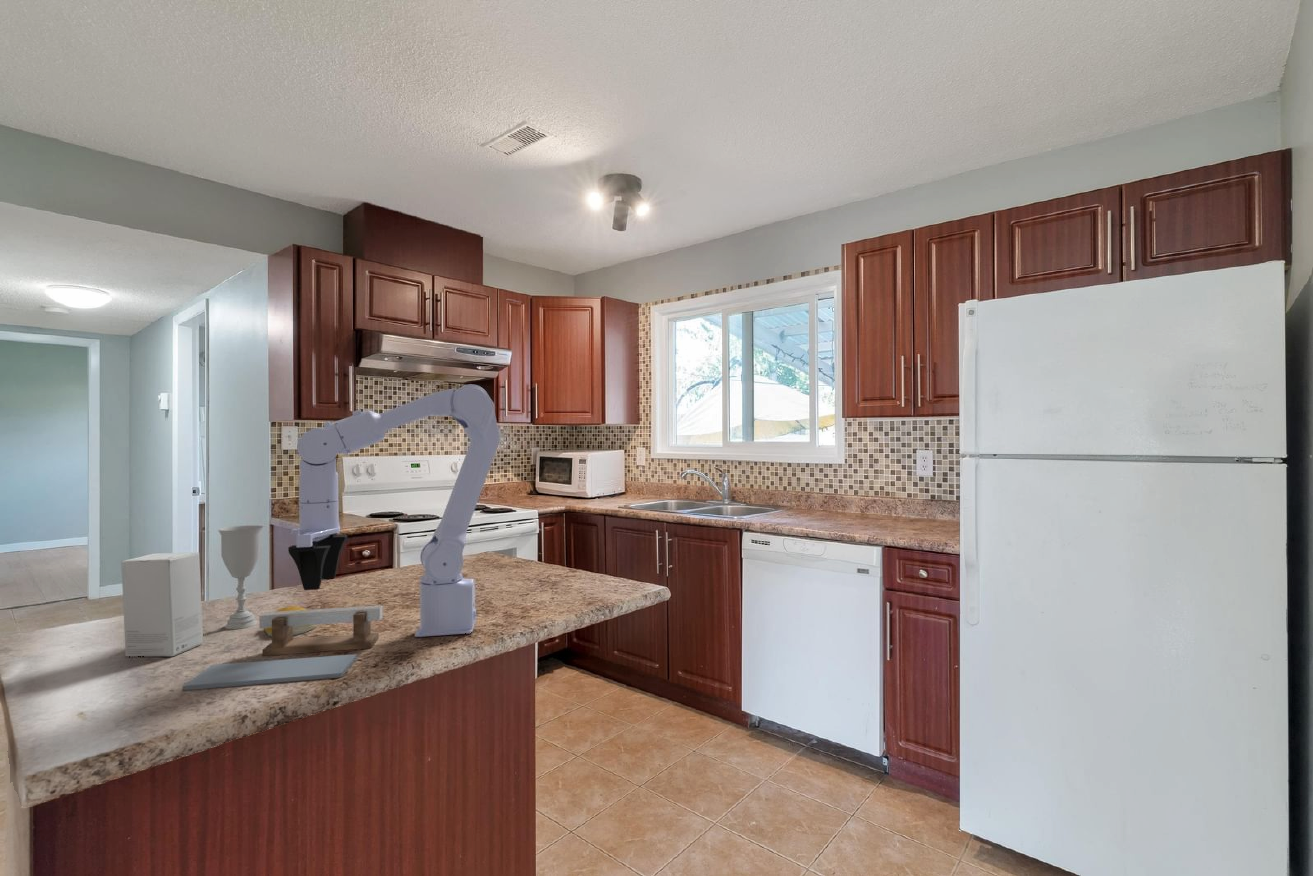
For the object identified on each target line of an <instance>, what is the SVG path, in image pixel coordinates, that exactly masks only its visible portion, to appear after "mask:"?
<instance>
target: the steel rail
mask: <svg viewBox="0 0 1313 876" xmlns="http://www.w3.org/2000/svg"><path fill="white" fill-rule="evenodd" d="M383 608H384V606H383V605H380V604H379V605H368V606H367V605H366V606H363V605H362V606H349V607H348V606H347V607H334V608H333V607H331V608H330V607H329V608H316V609H315V608H314V609H307V610H296V611H279V612H275V611H265V612H262V613H261V614H260V615H258V616H259V618H258V619H259V620H258V621H259V629H264V628H272V619H274V618H285V627H287V626H302V625H317V626H318V625H330V624H346V623H353V615H354V614H355V613H365V621H370V622H375V621H381V619H383V617H384V615H383V613H384V611H383Z"/></svg>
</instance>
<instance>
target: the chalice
mask: <svg viewBox="0 0 1313 876" xmlns="http://www.w3.org/2000/svg"><path fill="white" fill-rule="evenodd" d="M263 528H264V525H238V526H237V525H235V526H226V527H221V528H218V529H217V531H218V532H219V534H220V536H221V538H220V541H221V543H220V547H221V549H220V551H221V553H220V556H221V558H222V560H223V563H224V566H225V567H226V569H227V571H228V572H229V574H230V577H232V578H234V579H237V588H236V589H235V590H236V591H237V594H238V595H237V597H236V599H235V601H236V602H237V604H238V606H237V609H236V610H235V612H233V613H232V612H231V614H230V616H228V617H229V618H228V620H227V621H226V624H225V625H224V626H225V627H224V628H225V629H226V630H241V629H245V628H249V627H250V628H251V627H253V626H255V625H257V624H258V621H257V620H256V617H255V615H254V612H252V611H251V610H247V608H246V607H245V602H246V600H247V597H246V596H245V591H246V589H247V587H246V584H245V578H248V577H249V576H251V574H252V572H253V570H254V568H255V566H256V564H257V562H258V560H259V557H260V554H261V531H262V530H263Z"/></svg>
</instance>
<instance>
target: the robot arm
mask: <svg viewBox="0 0 1313 876" xmlns="http://www.w3.org/2000/svg"><path fill="white" fill-rule="evenodd" d="M495 409H496V407H495V403H494V401H493V400H492V399H491V397H490V395H489V394H488V392H487V391H486V390H485V389H484V388H483V387H481V385H477V384H471V383H470V384H465V385H462V386H461V387H459V388H456V387H454V388H450V389H445V390H440V391H435V392H432V393H430V394H427V395H425V396H422V397H419V398H417V399H414V400H412V401H410V402H407V403H405V404H402V405H400V406H397V407H394V408H392V409H390V410H388V411H387V410H386V411H385V412H381V413H377V412H375V411H373V410H369V409H367V410H365V411H362V410H361V409H357V410H353V411H352V414H353V415H350V416H349V417H345V418H342V419H339V420H336V421H335V422H330V421H325V422H323V424H322V425H323V426H324V428H321V427H313V428H311V429H310V430H308V431H306V432H304V433H303V434H302V435H301V436H300V437H299V438H298V440H297V445H296V446H297V447H296V449H297V452H298V455H299V457H300V458H301V460H299V461H300V462H299V465H298V468H299V471H300V473H299V475H298V506H299V507H298V509H299V510H298V511H299V513H298V516H299V520H298V521H299V528H294V529H291V535H296V537H295V539H296V542H295V543H296V544H295V545H290V546H289V547H288V554H289V555H290V556H291V558H292V560H293V561H294V563H295V565H296V567H297V570H298V573H299V577H300V581H301V585H302V588H303V590H304V591H313V590H314V591H315V590H316V591H317V590H319V589H320V588H321V585H322V580H333V579H335V578H336V575H337V571H338V566H339V562H340V557H341V554H342V551H343V548H344V546H345V543H347V541H348V534H340V532H341V525H340V519H339V518H340V515H339V514H340V513H339V510H340V509H339V508H340V507H339V502H340V501H339V473H338V472H337V459H336V457H337V456H338V454H342V455H345V456H346V455H349V454H352V453H355V452H357V451H360V450H362V449H364V448H366V447H370V446H372V445H375V444H377V443H380V442H382V441H383V440H384V438H385V436H386V433H387V431H389V430H392V429H396V428H398V427H400V426H404V425H405V424H408V423H412V422H414V421H417V420H420V419H423V418H426V417H428V416H436V417H437V416H438V417H445V418H446V417H449V416H451V417H452V418H453V419H454V420H455V422H457V423H458V424H459V425H460V426H461V427H462V428H463V430H464V432H465V433H466V436H467V438H468V439H469V441H470V442H469V446H468V449H467V451H466V453H465V456H464V459H463V461H462V464H461V467H460V469H459V472H458V475H457V477H456V480H455V482H454V485H453V488H452V491H451V493H450V496H449V499H448V502H447V504H446V506H445V509H444V511H443V514H442V517H441V520H440V523H439V524H438V525H437V527H436V529H435V530H434V533H433V535H432V537H431V539H430V540H429V541H428V542H427V543H426V544H425V545H424V546H423V548H422V549H421V552H420V555H419V556H420V562H421V565H422V567H423V568H424V569H425V572H424V573H423V575H422V576H420V579H419V609H420V610H419V611H420V612H419V618H420V619H419V621H420V623H419V627H418V628H417V630H416V631H415V633H414V637H415V638H423V637H436V636H450V635H462V634H463V635H464V634H465V633H466V634H471V632H472V633H473V630H474V627H475V624H476V620H477V609H476V587H475V585H476V583H475V582H476V581H475V579H474V578H464V577H463V574H462V573H461V572H462V570H463V567H464V558H463V552H464V548H465V545H466V541H467V540H466V539H467V537H466V536H467V531H468V529H469V525H470V522H471V521H472V517H473V515H474V512H475V510H476V507H477V503H478V502H479V501H478V500H479V498H480V496H481V493H482V491H483V487H484V485H485V482H486V480H487V477H488V474H489V471H490V469H491V465H492V464H493V460H494V458H495V455H496V452H497V450H498V447H499V444H500V440H501V435H500V431H499V425H498V422H497V421H498V420H497V417H496V416H497V415H496V412H495V411H496V410H495ZM466 634H465V635H466Z"/></svg>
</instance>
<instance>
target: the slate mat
mask: <svg viewBox="0 0 1313 876" xmlns="http://www.w3.org/2000/svg"><path fill="white" fill-rule="evenodd" d="M357 659H358V654H357V653H355V654H354V653H353V654H340V655H329V656H328V655H327V656H311V657H301V658H286V659H275V660H262V661H261V660H260V661H249V662H233V663H223V664H212V665H211V666H209V667H207V668H206V669H205V670H203V671H202V672H201V673H199V674H197V675H195V676H194V677H193V678H192V679H191V680H189V681H187V682H186V683H185V684H184V685H182V691H191V690H193V691H194V690H202V689H203V690H204V689H214V688H226V687H228V688H229V687H238V686H239V687H241V686H250V685H252V686H253V685H262V684H263V685H264V684H275V683H277V684H278V683H288V682H298V681H299V682H301V681H311V680H312V681H313V680H324V679H335V678H336V679H337V678H338V679H339V678H343V676H344V675H345V674H346V673H347V672H348V671H349V669H350V668H351V667H352V665H353V664H354V663H355V661H356V660H357Z"/></svg>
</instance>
